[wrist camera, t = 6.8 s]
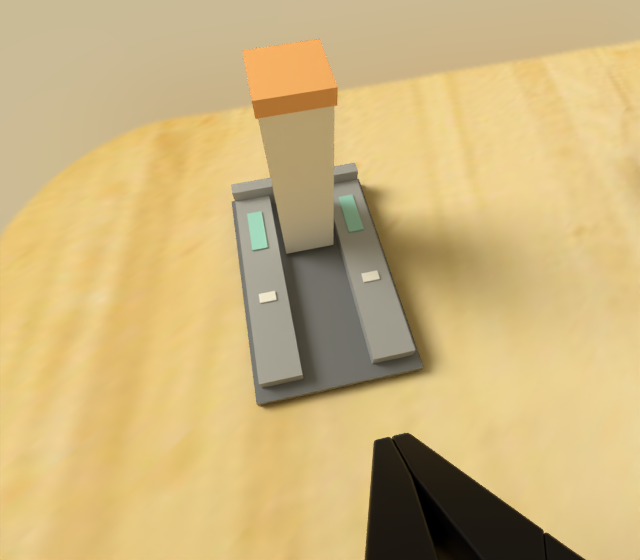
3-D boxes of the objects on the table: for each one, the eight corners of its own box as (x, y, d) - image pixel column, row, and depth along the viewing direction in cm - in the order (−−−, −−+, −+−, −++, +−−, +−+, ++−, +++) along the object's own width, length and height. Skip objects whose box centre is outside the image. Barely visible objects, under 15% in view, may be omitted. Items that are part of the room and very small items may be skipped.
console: (421, 369, 21) (431, 358, 19) (258, 405, 21) (250, 398, 19) (357, 184, 28) (359, 160, 26) (233, 206, 27) (225, 184, 25)
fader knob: (335, 245, 24) (337, 87, 14) (285, 255, 24) (252, 101, 14) (324, 206, 26) (319, 38, 16) (277, 215, 26) (242, 50, 16)
